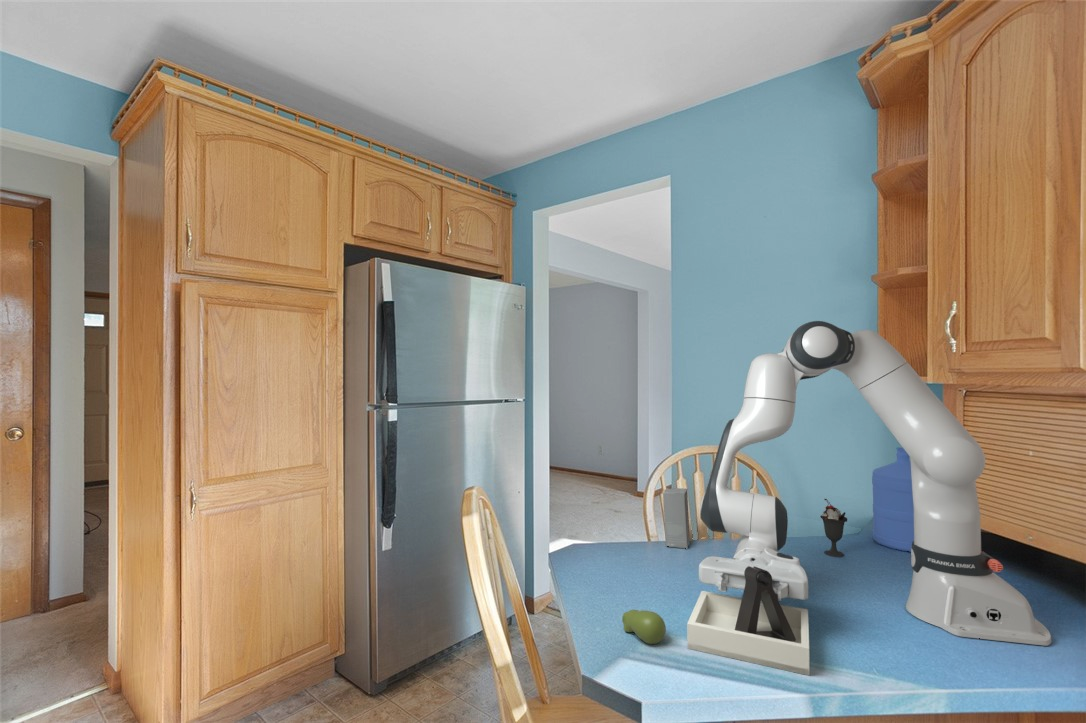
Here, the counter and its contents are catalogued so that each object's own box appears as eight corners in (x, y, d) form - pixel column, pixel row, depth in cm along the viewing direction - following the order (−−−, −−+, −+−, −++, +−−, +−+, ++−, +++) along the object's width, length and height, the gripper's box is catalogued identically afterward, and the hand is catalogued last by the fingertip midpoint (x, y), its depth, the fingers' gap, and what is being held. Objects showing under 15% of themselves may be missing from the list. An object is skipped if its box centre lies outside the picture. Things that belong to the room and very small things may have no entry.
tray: (808, 632, 102) (807, 609, 102) (809, 675, 88) (809, 648, 88) (701, 612, 111) (701, 590, 111) (687, 648, 96) (687, 623, 96)
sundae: (816, 549, 149) (815, 496, 150) (841, 550, 148) (840, 497, 149) (825, 557, 143) (824, 502, 143) (852, 558, 142) (851, 503, 142)
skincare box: (687, 549, 149) (687, 493, 150) (662, 546, 152) (661, 491, 152) (690, 540, 157) (690, 487, 158) (666, 538, 160) (666, 485, 160)
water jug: (950, 555, 144) (948, 453, 145) (887, 552, 147) (886, 451, 148) (920, 537, 160) (918, 445, 160) (863, 534, 163) (862, 444, 163)
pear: (646, 619, 96) (614, 608, 104) (650, 651, 95) (617, 636, 104) (669, 612, 99) (636, 601, 107) (673, 642, 98) (639, 629, 106)
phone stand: (745, 642, 94) (738, 570, 97) (734, 633, 100) (728, 566, 103) (796, 641, 94) (787, 570, 97) (782, 633, 100) (774, 565, 103)
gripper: (703, 544, 116) (691, 566, 103) (807, 559, 107) (808, 584, 94) (703, 573, 116) (692, 598, 103) (807, 590, 107) (809, 619, 94)
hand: (748, 591), depth 99 cm, fingers open, 8 cm apart
